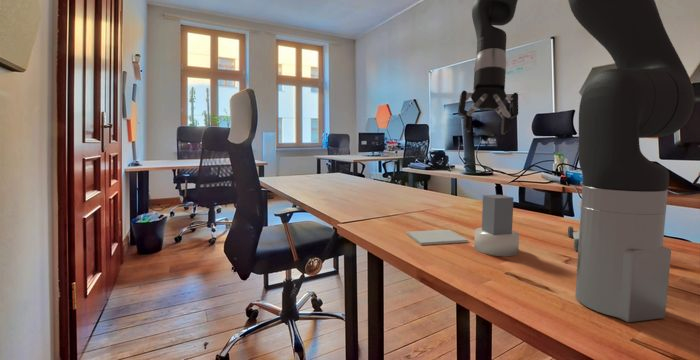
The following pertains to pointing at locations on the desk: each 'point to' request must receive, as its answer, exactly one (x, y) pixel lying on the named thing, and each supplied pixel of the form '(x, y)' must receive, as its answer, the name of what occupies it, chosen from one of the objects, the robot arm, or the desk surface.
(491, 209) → the cap block
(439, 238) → the rubber mat
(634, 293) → the robot arm
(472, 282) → the desk surface
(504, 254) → the white round part
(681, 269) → the desk surface
